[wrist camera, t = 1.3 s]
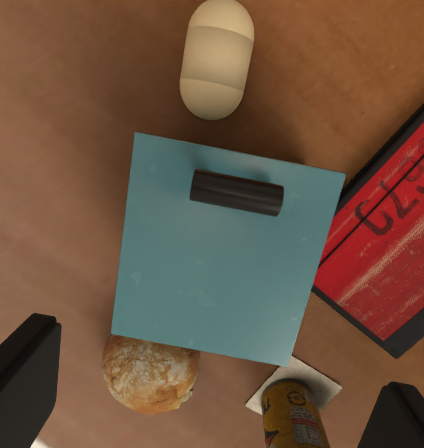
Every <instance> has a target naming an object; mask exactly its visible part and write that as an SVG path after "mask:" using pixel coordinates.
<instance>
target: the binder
mask: <svg viewBox="0 0 424 448" xmlns="http://www.w3.org/2000/svg"><path fill="white" fill-rule="evenodd" d="M311 291H312V292H313V293H315V294H316V295H317V296H318V297H320V298H321V299H322V300H323V301H325V302H326V303H327V304H328V305H330V306H331V307H332V308H333V309H334V310H336V311H337V312H338V313H339V314H340V315H342V316H343V317H344V318H345V319H347V320H348V321H349V322H350V323H352V324H353V325H354V326H355V327H357V328H358V329H359V330H360V331H362V332H363V333H364V334H365V335H367V336H368V337H369V338H370V339H372V340H373V341H374V342H375V343H377V344H378V345H379V346H380V347H382V348H383V349H384V350H385V351H387V352H388V353H389V354H390V355H391V356H393V357H394V358H395V359H398V358H399V357H400V356H402V355H403V354H404V353H405V352H406V351H407V350H409V349H410V348H411V347H412V346H413V345H415V344H416V343H417V342H418V341H419V340H420V339H422V338H423V337H424V105H423V106H422V107H421V108H420V109H419V110H418V111H417V112H416V113H415V114H414V115H413V116H412V117H411V118H410V119H409V120H408V121H407V122H406V123H405V124H404V126H403V127H402V128H401V129H400V130H399V131H398V132H397V133H396V134H395V135H394V136H393V137H392V138H391V139H390V140H389V141H388V142H387V143H386V144H385V145H384V147H383V148H382V149H381V150H380V151H379V152H378V153H377V154H376V155H375V156H374V157H373V158H372V159H371V160H370V161H369V162H368V164H367V165H366V166H365V167H364V168H363V169H362V170H361V171H360V172H359V173H358V174H357V175H356V176H355V177H354V179H353V180H352V181H351V182H350V183H349V184H348V185H347V186H346V187H345V188H344V189H343V191H342V192H341V193H340V196H339V200H338V203H337V206H336V210H335V213H334V216H333V219H332V223H331V226H330V229H329V233H328V236H327V239H326V242H325V246H324V249H323V252H322V256H321V259H320V262H319V265H318V269H317V272H316V275H315V279H314V282H313V285H312V288H311Z"/></svg>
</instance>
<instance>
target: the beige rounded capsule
mask: <svg viewBox="0 0 424 448" xmlns="http://www.w3.org/2000/svg"><path fill="white" fill-rule="evenodd" d="M253 44H254V27H253V23H252V20H251V18H250V15H249V13H248V12H247V11H246V9H245V8H244V7H243V6H242V5H241V4H240V3H238V2H237V1H235V0H208V1H206V2H204V3H202V4H201V5H200V6H199V7H198V8H197V9H196V11H195V12H194V14H193V15H192V17H191V19H190V22H189V26H188V30H187V36H186V43H185V50H184V56H183V63H182V70H181V76H180V93H181V96H182V99H183V101H184V103H185V105H186V107H187V108H188V109H189V110H190V111H191V112H192V113H193V114H194V115H196V116H198V117H200V118H202V119H206V120H218V119H222V118H224V117H226V116H228V115H230V114H231V113H232V112H233V111H234V110H235V109H236V108H237V107H238V105H239V103H240V101H241V100H242V96H243V93H244V88H245V83H246V78H247V74H248V69H249V64H250V59H251V54H252V49H253Z"/></svg>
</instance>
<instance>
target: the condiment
mask: <svg viewBox="0 0 424 448" xmlns="http://www.w3.org/2000/svg"><path fill="white" fill-rule="evenodd" d="M341 389H342V387H341V386H339V385H338V384H336V383H335V382H334V381H332V380H331V379H329V378H327V377H326V376H324V375H323V374H321V373H320V372H318V371H316V370H315V369H313V368H312V367H310V366H308V365H306V364H304V363H303V362H302V361H300V360H298V359H296V358H295V357H293V356H291V358H290V361H289V364H288V367H284V366H280V367H279V368H278V369H277V370H276V371H275V372H274V373H273V375H271V377H270V378H269V379H268V380H267V381H266V382H265V383H264V384H263V385H262V386H261V388H260V389H259V390H258V391H257V392H256V393H255V394H254V395H253V397H252V398H251V399H250V400H249V401H248V402H247V404H246V405H245V406H246V407H248V408H250V409H251V410H253V411H255V412H257V413H259V414H261V415H262V416H263V425H264V432H265V442H266V448H330V445H329V442H328V439H327V436H326V433H325V430H324V426H323V424H322V420H321V417H320V414H319V411H320V410H321V409H323V408H324V406H325V405H326V404H327V403H328V402H329V401H330V400H331V399H332V398H333V397H334V396H335V395H336V394H338V392H339V391H340V390H341Z"/></svg>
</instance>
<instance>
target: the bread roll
mask: <svg viewBox="0 0 424 448" xmlns="http://www.w3.org/2000/svg"><path fill="white" fill-rule="evenodd" d="M198 360H199V354H198V350H194V349H189V348H184V347H179V346H173V345H168V344H163V343H157V342H152V341H147V340H141V339H136V338H131V337H126V336H120V335H115V334H112V336H111V337H110V338H109V340H108V342H107V343H106V346H105V348H104V352H103V356H102V373H103V377H104V380H105V383H106V385H107V387H108V389H109V391H110V392H111V393H112V395H113V396H114V397H115V399H117V400H118V401H119V402H121V403H122V404H123V405H126V406H127V407H129V408H131V409H132V410H134V411H137V412H140V413H145V414H158V413H164V412H166V411H171V410H174V409H178V408H179V407H180V404H181V402H185V401H187V400H188V398H189V397H190V396H191V395H192V392H193V389H191V388H192V386H193V384H194V383H195V381H196V377H197V375H198V373H199V368H198V365H199V364H198Z"/></svg>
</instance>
